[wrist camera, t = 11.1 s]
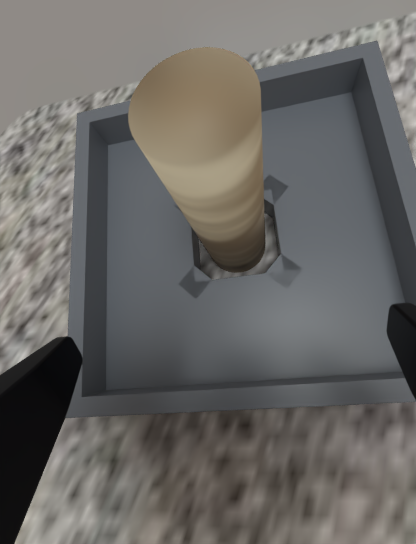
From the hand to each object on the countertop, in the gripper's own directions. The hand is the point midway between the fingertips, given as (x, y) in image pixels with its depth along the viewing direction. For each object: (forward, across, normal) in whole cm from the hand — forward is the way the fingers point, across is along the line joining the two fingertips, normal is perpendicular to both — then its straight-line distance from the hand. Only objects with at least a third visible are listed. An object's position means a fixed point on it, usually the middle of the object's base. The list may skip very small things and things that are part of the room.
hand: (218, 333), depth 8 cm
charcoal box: (+13, 0, +3) cm, 13 cm away
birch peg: (+13, 0, +3) cm, 13 cm away
